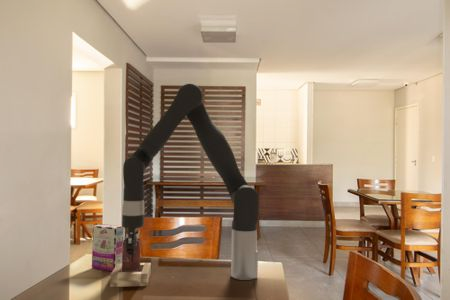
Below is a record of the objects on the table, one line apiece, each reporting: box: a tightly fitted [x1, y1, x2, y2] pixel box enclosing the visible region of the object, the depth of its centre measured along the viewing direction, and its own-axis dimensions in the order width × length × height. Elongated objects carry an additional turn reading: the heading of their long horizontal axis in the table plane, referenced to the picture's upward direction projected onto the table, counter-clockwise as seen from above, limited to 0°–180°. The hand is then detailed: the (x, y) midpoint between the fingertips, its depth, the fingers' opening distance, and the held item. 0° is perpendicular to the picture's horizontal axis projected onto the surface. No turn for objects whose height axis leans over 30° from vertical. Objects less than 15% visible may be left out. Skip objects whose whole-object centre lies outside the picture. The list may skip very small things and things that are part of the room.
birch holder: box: [109, 262, 152, 288], centre depth 118 cm, size 12×12×4 cm
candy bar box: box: [91, 223, 124, 273], centre depth 130 cm, size 11×5×16 cm, turn 68°
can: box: [122, 238, 142, 272], centre depth 118 cm, size 6×6×14 cm
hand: (132, 262), depth 118 cm, fingers open, 3 cm apart
